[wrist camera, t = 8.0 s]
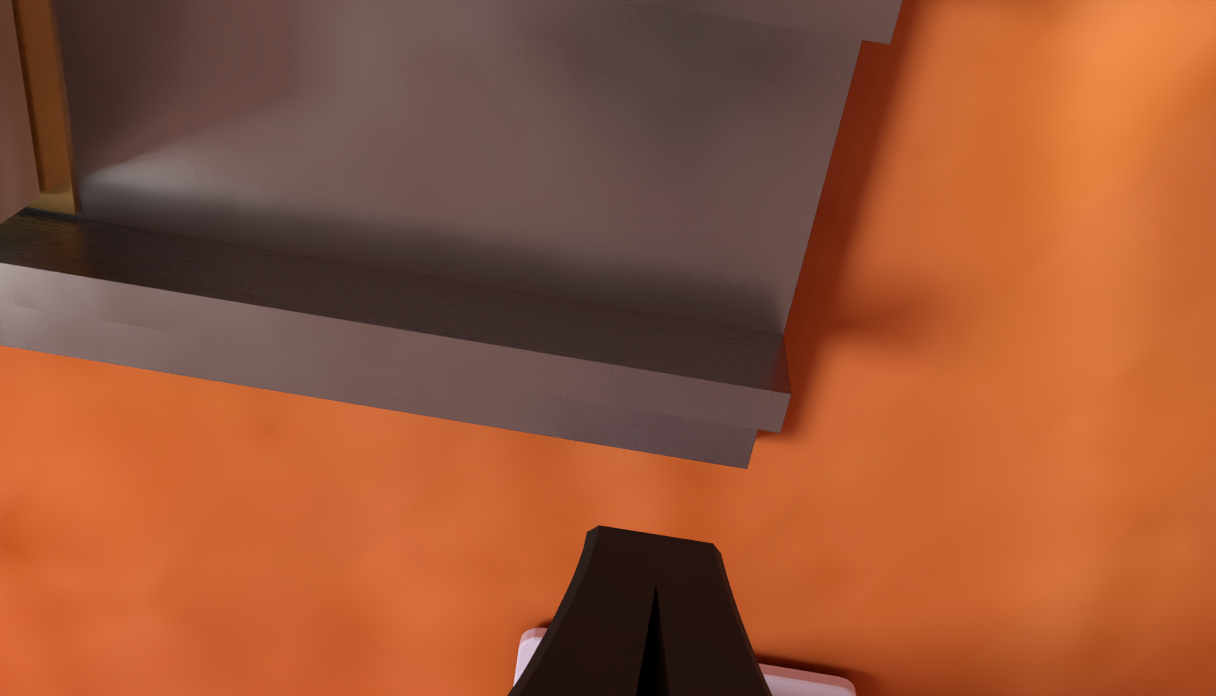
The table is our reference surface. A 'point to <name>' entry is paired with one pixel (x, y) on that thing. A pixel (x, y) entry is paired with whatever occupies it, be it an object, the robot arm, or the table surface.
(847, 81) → the chute
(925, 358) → the table surface
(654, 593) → the robot arm
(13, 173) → the block
